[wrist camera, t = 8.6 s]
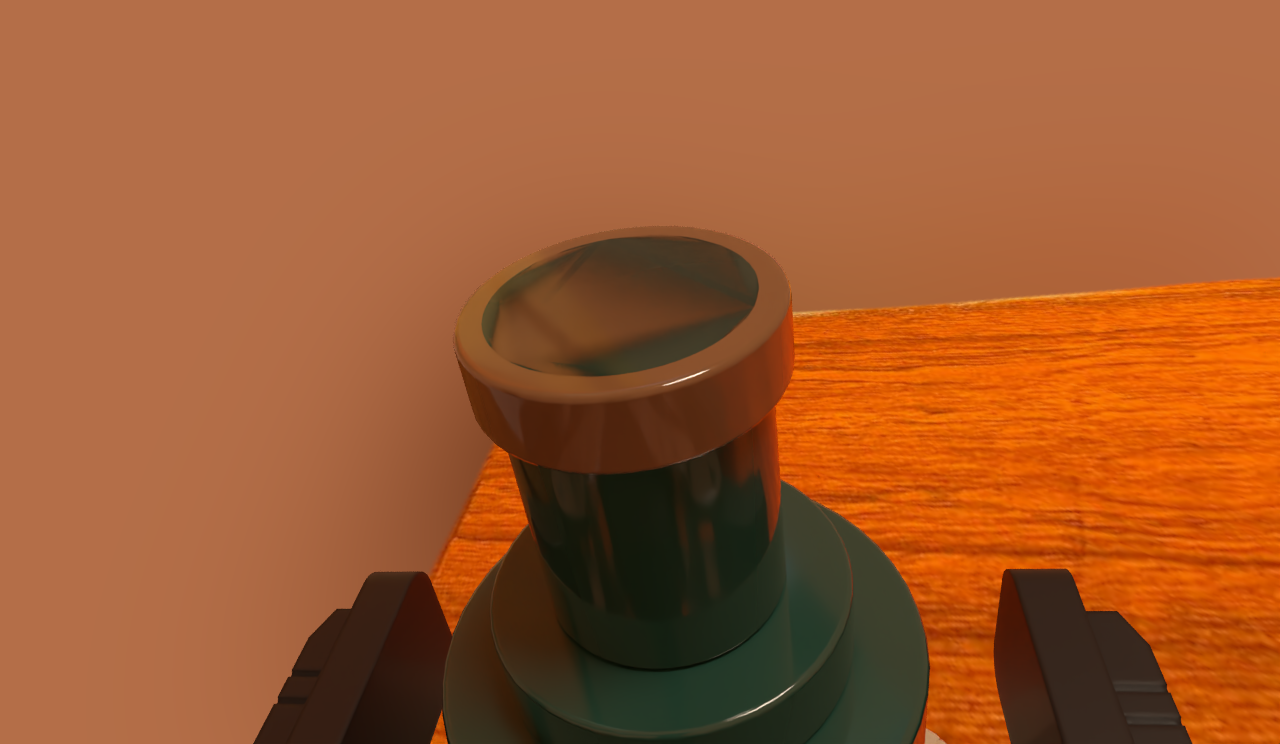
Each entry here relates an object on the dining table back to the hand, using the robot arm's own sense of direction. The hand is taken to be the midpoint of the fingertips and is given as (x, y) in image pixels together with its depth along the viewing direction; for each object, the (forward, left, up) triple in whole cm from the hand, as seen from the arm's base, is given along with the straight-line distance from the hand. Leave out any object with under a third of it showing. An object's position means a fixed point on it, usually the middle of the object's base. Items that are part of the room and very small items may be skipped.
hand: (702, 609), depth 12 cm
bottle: (-1, -1, -10) cm, 10 cm away
